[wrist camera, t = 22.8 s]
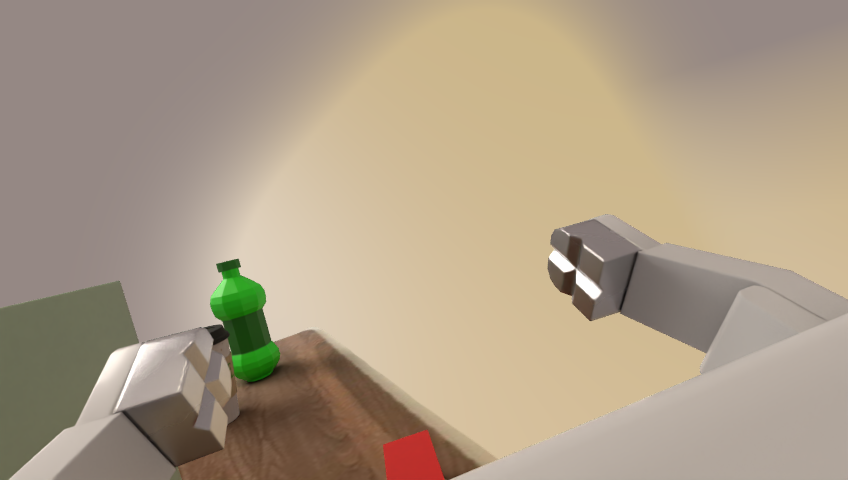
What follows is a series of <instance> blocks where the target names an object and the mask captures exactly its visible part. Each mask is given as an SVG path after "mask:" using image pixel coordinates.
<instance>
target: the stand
mask: <svg viewBox="0 0 848 480" xmlns="http://www.w3.org/2000/svg"><path fill="white" fill-rule="evenodd" d="M138 343H139V341H138V338H137V335H136V331H135V328H134V325H133V322H132V319H131V315H130V312H129V309H128V306H127V302H126V299H125V296H124V293H123V290H122V286H121V283H120V281H116V282H112V283H107V284H103V285H99V286H94V287H90V288H85V289H81V290H77V291H73V292H68V293H63V294H59V295H55V296H51V297H46V298H42V299H38V300H33V301H28V302H24V303H20V304H16V305H11V306H7V307H2V308H0V480H9V479H10V478H11V477H12V476H13V475H14V474H15V473H16V472H18V471H19V470H20V469H21V468H22V467H23V466H24V465H25V464H26V463H28V462H29V461H30V460H31V459H32V458H33V457H34V456H35V455H36V454H38V453H39V452H40V451H41V450H42V449H43V448H44V447H45V446H46V445H48V444H49V443H50V442H51V441H52V440H53V439H54V438H55V437H56V436H58V435H59V434H60V433H61V432H62V431H63V430H64V429H67V428H70V427H74V426H75V425H76V423H77V421H78V419H79V417H80V415H81V413H82V411H83V409H84V407H85V405H86V403H87V401H88V399H89V397H90V395H91V393H92V391H93V389H94V387H95V385H96V383H97V381H98V379H99V377H100V375H101V373H102V371H103V369H104V367H105V365H106V363H107V361H108V359H109V357H110V355H111V354H112V353H113V352H114V351H116V350H117V349H119V348H123V347H127V346H130V345H134V344H138ZM175 468H176V471H175V472H174V474H173V475H172V477H171V478H170V480H182V479H181V476H180V473H179V470H178V466H177V467H175Z"/></svg>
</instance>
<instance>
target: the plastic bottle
mask: <svg viewBox="0 0 848 480" xmlns="http://www.w3.org/2000/svg"><path fill="white" fill-rule="evenodd" d="M216 265H217V269H218V272H222V275H223V281H222V282H221V283H220V285H219V286H218V287H217V289H216V290H215V292H214V293H213V295H212V296H211V300H210V305H211V309H212V312H213V314H214V315H215V317H216V318H218V319H219V320H221V321H223V325H224V328H225V330H227V331H228V332H229V334H230V336H229V337H228V342H229V346H230V349H231V354H232V361H233V367H234V374H235V376H236V377H237V378H239V379H242V380H247V382H254V381H257V380H260V379H263V378H264V377H266V376H268V375H270V374H271V373H272V372H273V369H274V368H275V366H276V365H277V363H278V361H279V358H280V352H279V348H278V347H277V346H276V345H275V343H274V342H273V341H271V338H270V334H269V331H268V327H267V323H266V320H265V316H264V313H263V309H262V308H263V306H264V304H265V303H266V295H265V291H264V289H263V288H262V286H261V285H260V284H258V283H256V282H254V281H252V280H250V279H248V278H246V277H243V276H241V275H240V273H239V269H238V268H239V267H241V266H240V262H239V259H234V260H231V261H226V262H223V263H218V264H216Z"/></svg>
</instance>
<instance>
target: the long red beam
mask: <svg viewBox="0 0 848 480" xmlns="http://www.w3.org/2000/svg"><path fill="white" fill-rule="evenodd" d="M383 449H384V458H385V466H386V474H387V480H445V479H444V476H443V473H442V470H441V467H440V465H439V462H438V459H437V456H436V453H435V450H434V447H433V444H432V441H431V439H430V436H429V433H428V430H425V431H422V432H419V433H416V434H413V435H410V436H407V437H404V438H401V439H398V440H396V441H393V442H390V443H387V444H384V445H383Z"/></svg>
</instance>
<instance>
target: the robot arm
mask: <svg viewBox="0 0 848 480" xmlns="http://www.w3.org/2000/svg"><path fill="white" fill-rule="evenodd" d="M551 245H552V247H553V248H554V249H555V250H554V251H553V252H552V254H551V255H550V257H549V258H548V272H549V275H550V279H551V280H552V282H553V283H554V285H555V287H556V288H558V289H559V291H560V292H562V293H565V294H568V295H571V296H572V303H573V305H574V306H575V307H576V308H577V309H578V310H579V311H581V313H582V314H583V315H584V316H586V318H587V319H589V321H593V320H595V319H599V318H602V317H605V316H609V315H612V314H615V313H618V312H621V313H620V314H623V315H624V316H627V317H629V318H631V319H633V320H636V321H637V322H640V323H642V324H644V325H646V326H648V327H651V328H653V329H655V330H657V331H659V332H661V333H664V334H666V335H668V336H670V337H672V338H674V339H677V340H679V341H681V342H683V343H685V344H688V345H690V346H692V347H694V348H696V349H698V350H700V351H703V352H705V353H707V354H706V356H705V358H704V360H703V362H702V364H701V366H700V373H701V375H699V376H697V377H694V378H692V379H689V380H687V381H685V382H682V383H680V384H678V385H675V386H673V387H670V388H668V389H665V390H663V391H661V392H658V393H656V394H654V395H651V396H649V397H646V398H644V399H641V400H639V401H637V402H635V403H632V404H630V405H627V406H625V407H622V408H620V409H618V410H615V411H613V412H610V413H608V414H606V415H603V416H601V417H598V418H596V419H594V420H591V421H589V422H586V423H584V424H582V425H579V426H577V427H574V428H572V429H570V430H567V431H565V432H563V433H560V434H558V435H555V436H553V437H551V438H548V439H546V440H543V441H541V442H539V443H536V444H534V445H532V446H529V447H527V448H524V449H522V450H519V451H517V452H515V453H512V454H510V455H508V456H506V457H503V458H500V459H498V460H496V461H493V462H491V463H488V464H486V465H484V466H481V467H479V468H477V469H474V470H472V471H469V472H467V473H465V474H462V475H460V476H457V477H455V478H453V479H450V480H848V300H847V299H845V298H844V297H842V296H840V295H838V294H836V293H834V292H832V291H830V290H828V289H826V288H824V287H822V286H820V285H818V284H816V283H814V282H812V281H810V280H808V279H806V278H804V277H802V276H801V275H799V274H797V273H794V272H793V271H790V270H786V269H781V268H777V267H773V266H768V265H763V264H759V263H755V262H750V261H746V260H741V259H736V258H732V257H728V256H723V255H719V254H714V253H709V252H705V251H701V250H696V249H691V248H687V247H682V246H678V245H674V244H669V243H665V244H660V243H658V242H657V241H655V240H654V239H652V238H650V237H649V236H647V235H645V234H644V233H642V232H640V231H639V230H637V229H635V228H634V227H632V226H630V225H629V224H627V223H625V222H623V221H622V220H620V219H619V218H617V217H615V216H614V215H608V214H605V215H602V216H599V217H595V218H592V219H589V220H588V221H584V222H580V223H577V224H573V225H570V226H566V227H562V228H559V229H555V230H554V232H553V234H552V236H551ZM213 341H214V340H213V338H212V336H211V335H210V333H209V332H208V330H207V329H205V328H201V327H200V328H196V329H192V330H188V331H184V332H180V333H176V334H172V335H168V336H164V337H160V338H156V339H153V340H149V341H146V342H142V343H138V344H134V345H130V346H127V347H123V348H119V349H117V350H116V351H114V352H113V353H112V354H111V355H110V357H109V359H108V361H107V363H106V365H105V367H104V369H103V371H102V373H101V375H100V377H99V379H98V381H97V383H96V385H95V387H94V389H93V391H92V393H91V395H90V397H89V399H88V401H87V403H86V405H85V407H84V409H83V411H82V413H81V415H80V417H79V419H78V421H77V423H76V425H75V426H74V427H70V428H67V429H64V430H63V431H62V432H61V433H60V434H59V435H58V436H56V437H55V438H54V439H53V440H52V441H51V442H50V443H49V444H48V445H46V446H45V447H44V448H43V449H42V450H41V451H40V452H39V453H38V454H36V455H35V456H34V457H33V458H32V459H31V460H30V461H29V462H28V463H26V464H25V465H24V466H23V467H22V468H21V469H20V470H19V471H18V472H16V473H15V474H14V475H13V476H12V477H11V478H10V479H9V480H170V478H171V477H172V475H173V474H174V472H175V471H176V468H175V467H177V466H180V465H182V464H185V463H188V462H190V461H193V460H196V459H198V458H201V457H204V456H206V455H209V454H212V453H214V452H217V451H220V450H222V449H224V444H225V437H226V429H227V422H228V417H227V415H226V414H225V412H224V411H223V407H224V406H225V405H226V403H227V402H228V401H229V399H230V398H231V389H232V383H231V374H230V370H229V367H228V364H227V361H226V360H225V358H224V356H223V355H222V354H221V353H218V352H216V351H213V350H212V346H213Z"/></svg>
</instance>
